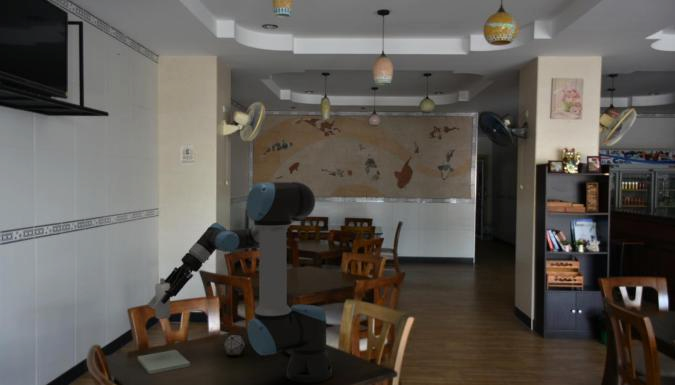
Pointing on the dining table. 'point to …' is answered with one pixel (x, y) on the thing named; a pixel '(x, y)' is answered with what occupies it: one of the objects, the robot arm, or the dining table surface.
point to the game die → (234, 345)
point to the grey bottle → (159, 291)
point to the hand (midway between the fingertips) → (152, 308)
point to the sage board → (163, 361)
